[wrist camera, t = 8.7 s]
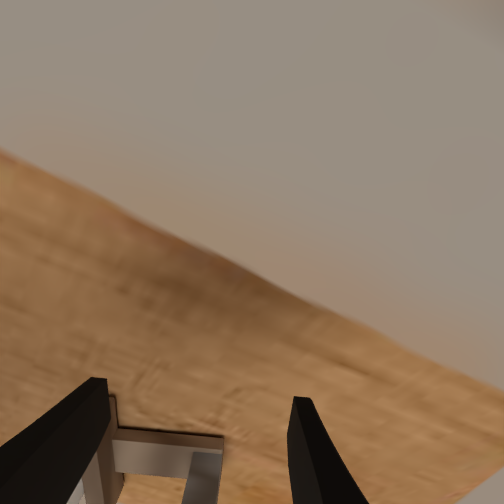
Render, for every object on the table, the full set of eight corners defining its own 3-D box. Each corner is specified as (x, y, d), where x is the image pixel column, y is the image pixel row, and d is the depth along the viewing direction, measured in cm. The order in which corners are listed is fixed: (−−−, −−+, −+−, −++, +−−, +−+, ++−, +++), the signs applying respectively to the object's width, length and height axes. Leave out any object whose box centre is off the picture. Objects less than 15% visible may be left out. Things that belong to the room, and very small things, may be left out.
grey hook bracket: (108, 483, 27) (75, 554, 22) (96, 395, 23) (53, 458, 18) (219, 494, 27) (210, 567, 22) (226, 408, 23) (216, 474, 18)
